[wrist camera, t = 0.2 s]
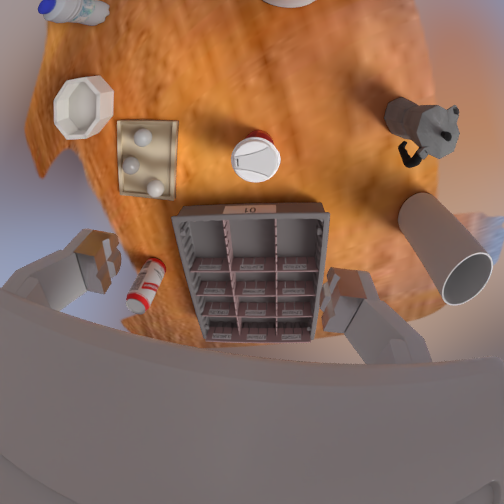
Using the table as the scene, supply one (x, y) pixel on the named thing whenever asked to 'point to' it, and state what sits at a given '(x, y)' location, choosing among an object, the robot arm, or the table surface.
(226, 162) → the table surface
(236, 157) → the paper cup
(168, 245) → the table surface
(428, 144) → the coffeepot
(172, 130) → the oak tray
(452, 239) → the cylinder vase
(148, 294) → the beer can
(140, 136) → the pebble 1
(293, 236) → the organizer tray
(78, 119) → the ceramic bowl
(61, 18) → the bottle
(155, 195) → the white ball
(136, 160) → the grey ball
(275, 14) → the table surface
